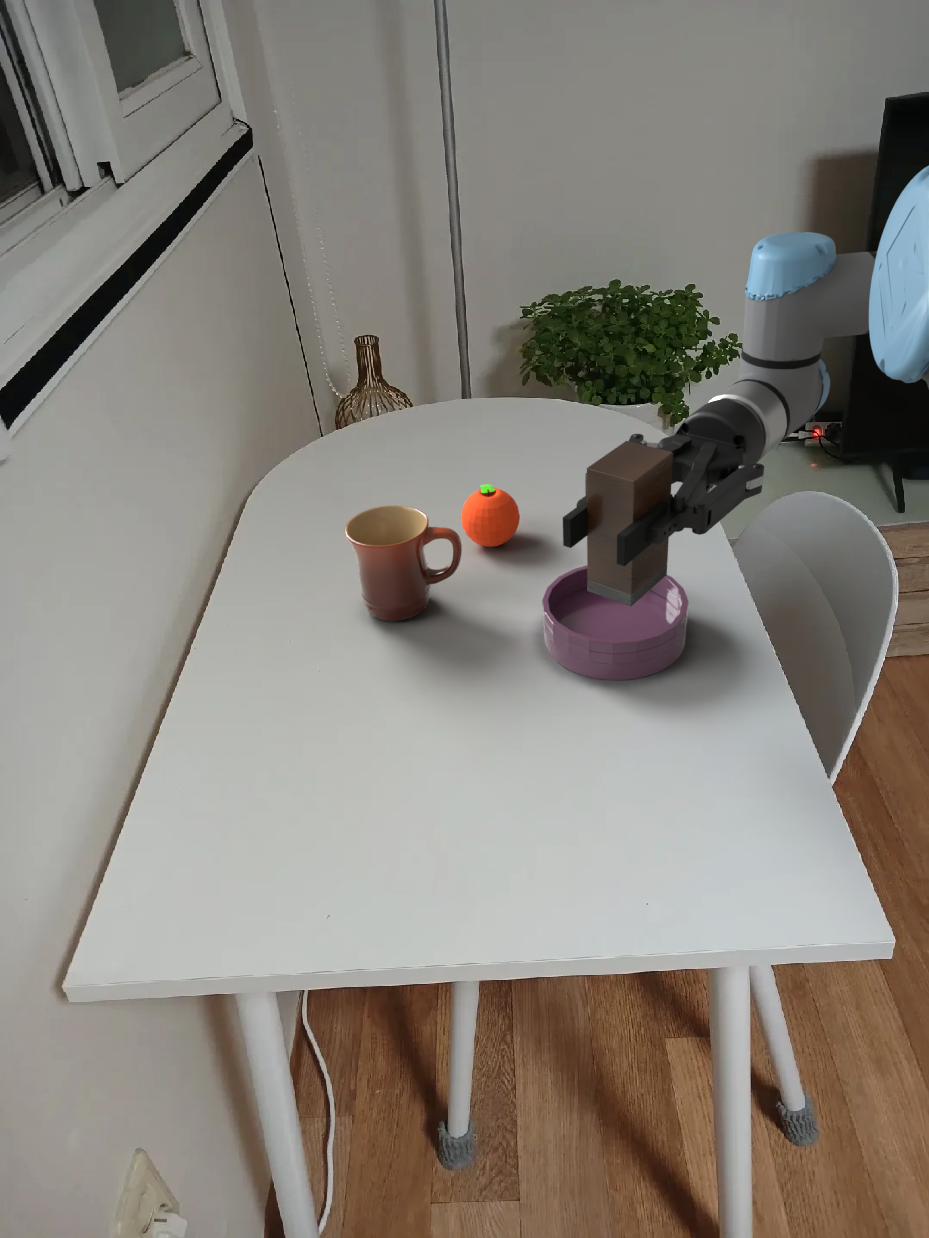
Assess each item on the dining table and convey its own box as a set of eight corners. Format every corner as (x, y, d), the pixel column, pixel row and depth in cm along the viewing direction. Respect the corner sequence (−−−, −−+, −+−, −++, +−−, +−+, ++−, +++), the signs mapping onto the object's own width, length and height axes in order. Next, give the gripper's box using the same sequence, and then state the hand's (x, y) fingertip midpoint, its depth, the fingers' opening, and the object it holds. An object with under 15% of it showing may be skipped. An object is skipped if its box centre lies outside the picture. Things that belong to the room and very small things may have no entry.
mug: (351, 629, 102) (336, 547, 96) (366, 584, 109) (354, 505, 103) (462, 629, 100) (454, 545, 94) (470, 584, 107) (463, 503, 101)
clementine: (457, 529, 118) (452, 477, 114) (511, 520, 118) (508, 468, 114) (469, 561, 111) (464, 508, 107) (527, 552, 112) (524, 498, 108)
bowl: (715, 638, 96) (718, 601, 93) (612, 700, 89) (613, 662, 86) (615, 582, 105) (615, 547, 103) (516, 634, 99) (513, 599, 96)
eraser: (667, 575, 85) (673, 452, 78) (631, 607, 81) (634, 481, 74) (623, 560, 87) (626, 440, 80) (587, 591, 84) (586, 468, 77)
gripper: (813, 492, 88) (687, 613, 74) (648, 450, 98) (509, 550, 84) (824, 416, 84) (693, 530, 70) (650, 380, 94) (505, 474, 80)
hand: (593, 541), depth 77 cm, fingers closed on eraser, 4 cm apart
